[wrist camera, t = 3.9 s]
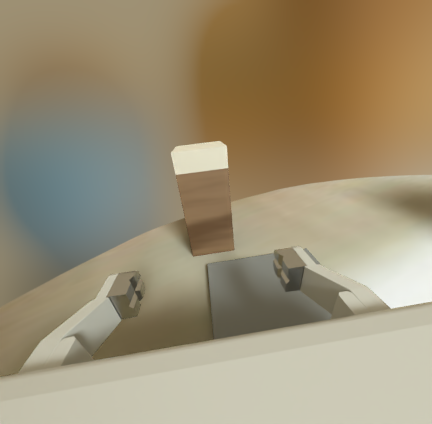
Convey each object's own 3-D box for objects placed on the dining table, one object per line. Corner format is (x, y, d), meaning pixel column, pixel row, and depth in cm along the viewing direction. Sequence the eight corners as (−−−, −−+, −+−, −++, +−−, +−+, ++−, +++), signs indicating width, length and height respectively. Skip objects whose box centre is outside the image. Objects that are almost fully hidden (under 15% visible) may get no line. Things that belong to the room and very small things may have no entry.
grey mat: (608, 605, 5) (628, 608, 5) (246, 705, 5) (246, 716, 4) (305, 252, 19) (306, 248, 19) (208, 267, 19) (207, 263, 19)
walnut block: (234, 250, 21) (226, 145, 16) (193, 256, 21) (170, 152, 15) (227, 228, 25) (219, 141, 20) (193, 233, 25) (176, 146, 20)
